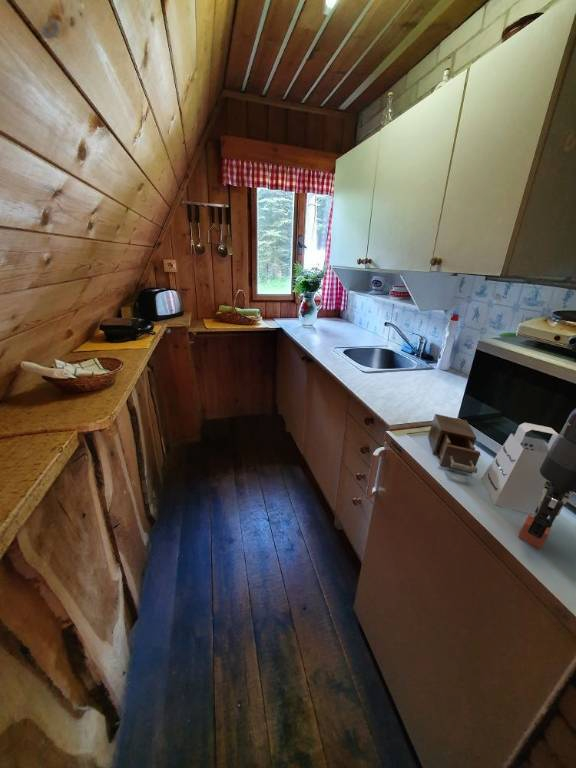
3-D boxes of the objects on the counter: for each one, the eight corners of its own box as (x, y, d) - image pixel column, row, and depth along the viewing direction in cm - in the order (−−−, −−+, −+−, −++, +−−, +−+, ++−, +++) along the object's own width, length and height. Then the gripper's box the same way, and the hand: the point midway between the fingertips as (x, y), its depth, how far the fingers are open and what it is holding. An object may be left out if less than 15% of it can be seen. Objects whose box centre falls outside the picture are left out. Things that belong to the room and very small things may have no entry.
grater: (481, 478, 84) (508, 414, 77) (523, 488, 82) (555, 423, 75) (494, 504, 75) (526, 434, 68) (542, 516, 73) (581, 445, 65)
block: (543, 539, 66) (551, 525, 65) (540, 549, 63) (548, 535, 62) (521, 527, 69) (528, 514, 67) (517, 536, 66) (525, 522, 65)
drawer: (477, 485, 80) (486, 463, 77) (442, 476, 82) (450, 455, 79) (463, 454, 94) (470, 434, 91) (434, 447, 96) (440, 428, 93)
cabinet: (467, 462, 91) (476, 437, 88) (433, 454, 93) (441, 430, 90) (458, 443, 102) (466, 420, 99) (428, 436, 104) (435, 413, 101)
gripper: (597, 486, 51) (555, 556, 57) (600, 458, 61) (563, 520, 67) (543, 464, 56) (509, 530, 62) (553, 440, 66) (523, 499, 72)
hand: (537, 524), depth 64 cm, fingers open, 8 cm apart
